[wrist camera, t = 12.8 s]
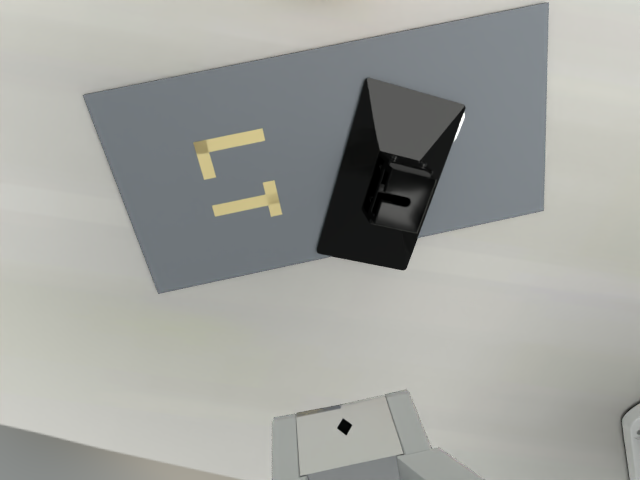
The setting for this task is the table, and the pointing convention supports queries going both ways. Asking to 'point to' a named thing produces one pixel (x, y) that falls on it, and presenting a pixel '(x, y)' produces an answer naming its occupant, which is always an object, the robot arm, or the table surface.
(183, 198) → the mat
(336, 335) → the table surface
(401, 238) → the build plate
